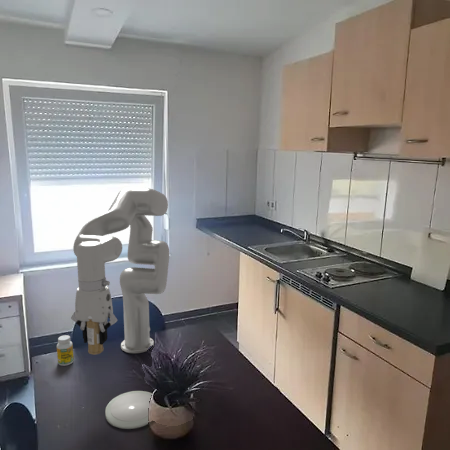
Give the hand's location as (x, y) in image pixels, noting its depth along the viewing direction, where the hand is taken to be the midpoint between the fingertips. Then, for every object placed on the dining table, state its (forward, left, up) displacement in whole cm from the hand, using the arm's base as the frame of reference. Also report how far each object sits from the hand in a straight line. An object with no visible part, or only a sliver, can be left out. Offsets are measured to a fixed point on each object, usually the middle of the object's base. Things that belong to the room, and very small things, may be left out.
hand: (95, 341), depth 123 cm
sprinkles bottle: (0, 0, -4) cm, 4 cm away
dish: (+4, +13, -19) cm, 23 cm away
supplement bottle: (-18, -21, -19) cm, 34 cm away
